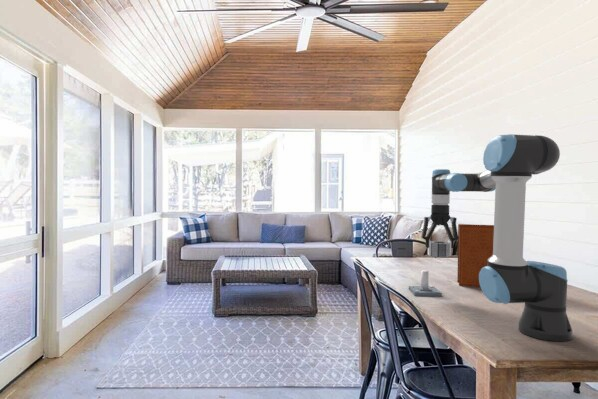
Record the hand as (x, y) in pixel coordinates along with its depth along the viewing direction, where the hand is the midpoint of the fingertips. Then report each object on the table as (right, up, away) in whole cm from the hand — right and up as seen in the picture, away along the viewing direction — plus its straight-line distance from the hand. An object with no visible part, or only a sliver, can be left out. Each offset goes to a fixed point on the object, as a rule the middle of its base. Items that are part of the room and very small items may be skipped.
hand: (439, 255), depth 175 cm
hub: (0, 0, 0) cm, 0 cm away
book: (+29, -18, +21) cm, 41 cm away
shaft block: (-5, -18, +6) cm, 20 cm away
